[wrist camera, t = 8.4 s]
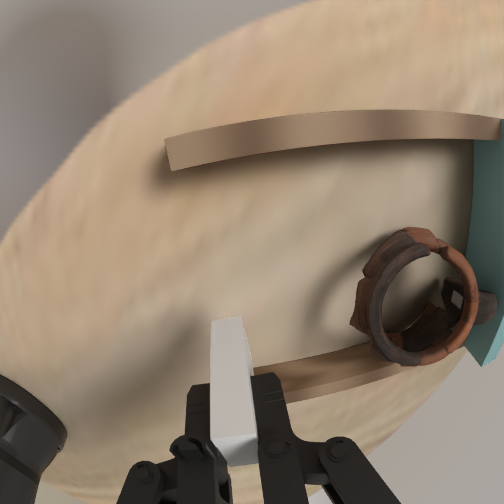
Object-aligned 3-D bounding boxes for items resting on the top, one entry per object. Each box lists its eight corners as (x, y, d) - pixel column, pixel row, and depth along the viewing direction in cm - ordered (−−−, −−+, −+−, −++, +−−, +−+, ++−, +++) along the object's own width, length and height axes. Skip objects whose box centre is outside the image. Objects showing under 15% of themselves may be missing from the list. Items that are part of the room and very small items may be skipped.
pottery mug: (342, 348, 22) (351, 392, 14) (340, 234, 23) (352, 223, 15) (466, 335, 20) (513, 364, 12) (468, 229, 20) (521, 220, 12)
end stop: (448, 326, 22) (481, 367, 17) (472, 114, 14) (534, 125, 9) (462, 320, 22) (495, 358, 17) (487, 116, 14) (546, 128, 9)
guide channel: (241, 381, 22) (243, 410, 20) (176, 136, 14) (164, 139, 12) (448, 326, 22) (464, 345, 20) (472, 114, 14) (500, 118, 11)
